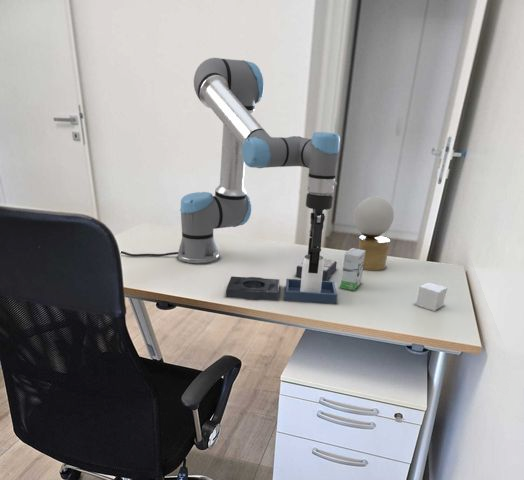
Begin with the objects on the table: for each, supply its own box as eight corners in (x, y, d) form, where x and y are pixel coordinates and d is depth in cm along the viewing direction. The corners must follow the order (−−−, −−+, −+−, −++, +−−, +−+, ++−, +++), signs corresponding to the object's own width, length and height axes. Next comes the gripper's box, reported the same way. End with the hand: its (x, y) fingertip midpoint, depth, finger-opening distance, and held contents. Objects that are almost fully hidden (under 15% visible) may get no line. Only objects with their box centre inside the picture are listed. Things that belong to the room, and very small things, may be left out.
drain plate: (225, 297, 134) (225, 290, 133) (231, 282, 146) (231, 275, 145) (277, 301, 134) (278, 293, 133) (279, 285, 145) (279, 278, 144)
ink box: (353, 291, 144) (359, 256, 138) (339, 288, 146) (344, 253, 140) (361, 283, 151) (366, 249, 145) (347, 280, 152) (351, 247, 147)
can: (324, 294, 139) (328, 257, 133) (312, 299, 135) (315, 261, 129) (308, 288, 143) (311, 252, 137) (295, 293, 139) (298, 256, 133)
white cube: (442, 305, 136) (447, 287, 133) (434, 311, 132) (438, 292, 129) (424, 300, 140) (428, 282, 137) (415, 304, 136) (419, 286, 133)
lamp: (340, 260, 173) (349, 193, 161) (370, 257, 178) (381, 192, 166) (363, 272, 161) (374, 201, 149) (394, 268, 166) (407, 200, 154)
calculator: (337, 259, 161) (327, 269, 148) (335, 271, 163) (325, 281, 150) (308, 255, 164) (296, 264, 152) (307, 266, 166) (295, 276, 154)
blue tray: (284, 300, 134) (285, 291, 133) (285, 287, 145) (286, 278, 143) (335, 303, 134) (337, 294, 132) (333, 290, 144) (334, 281, 142)
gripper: (336, 203, 113) (326, 280, 124) (330, 186, 135) (322, 253, 145) (307, 201, 113) (300, 278, 124) (306, 185, 135) (299, 252, 146)
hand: (312, 265), depth 135 cm, fingers open, 13 cm apart
